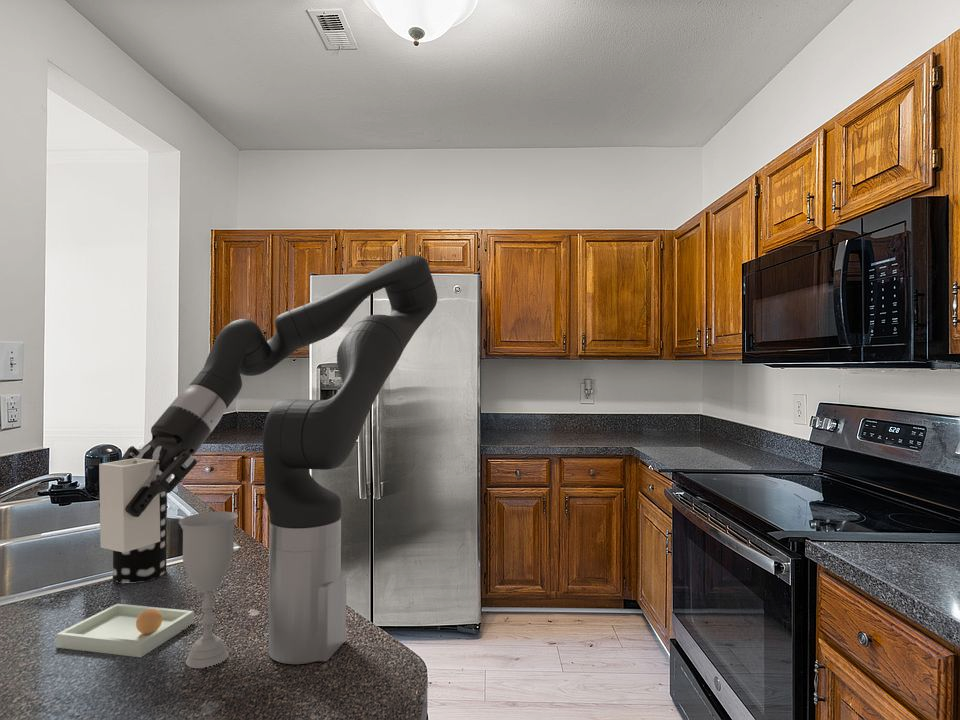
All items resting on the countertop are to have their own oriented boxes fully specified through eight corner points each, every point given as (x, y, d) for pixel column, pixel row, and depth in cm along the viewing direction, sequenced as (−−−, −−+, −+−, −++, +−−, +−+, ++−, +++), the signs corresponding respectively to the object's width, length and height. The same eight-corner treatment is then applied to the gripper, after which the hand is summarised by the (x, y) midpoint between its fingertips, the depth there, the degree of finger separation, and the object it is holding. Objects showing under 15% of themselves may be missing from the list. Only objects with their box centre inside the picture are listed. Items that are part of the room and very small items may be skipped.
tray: (193, 623, 86) (193, 611, 86) (140, 657, 76) (140, 643, 76) (117, 615, 88) (117, 603, 88) (56, 647, 78) (56, 633, 78)
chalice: (212, 675, 71) (214, 527, 72) (163, 669, 73) (165, 524, 73) (247, 647, 79) (249, 513, 79) (202, 642, 80) (204, 510, 80)
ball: (171, 619, 83) (159, 600, 83) (154, 629, 79) (142, 609, 80) (155, 632, 83) (143, 613, 83) (138, 642, 80) (126, 622, 80)
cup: (160, 541, 87) (158, 460, 87) (124, 552, 82) (122, 466, 82) (136, 536, 89) (135, 457, 89) (100, 547, 84) (99, 464, 84)
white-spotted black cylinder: (132, 566, 110) (133, 459, 110) (175, 567, 109) (176, 460, 109) (101, 583, 101) (103, 467, 101) (148, 584, 101) (150, 468, 101)
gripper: (235, 436, 94) (167, 531, 83) (175, 432, 100) (105, 520, 89) (206, 405, 89) (130, 502, 78) (145, 403, 95) (67, 492, 84)
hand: (117, 511), depth 84 cm, fingers closed on cup, 5 cm apart
